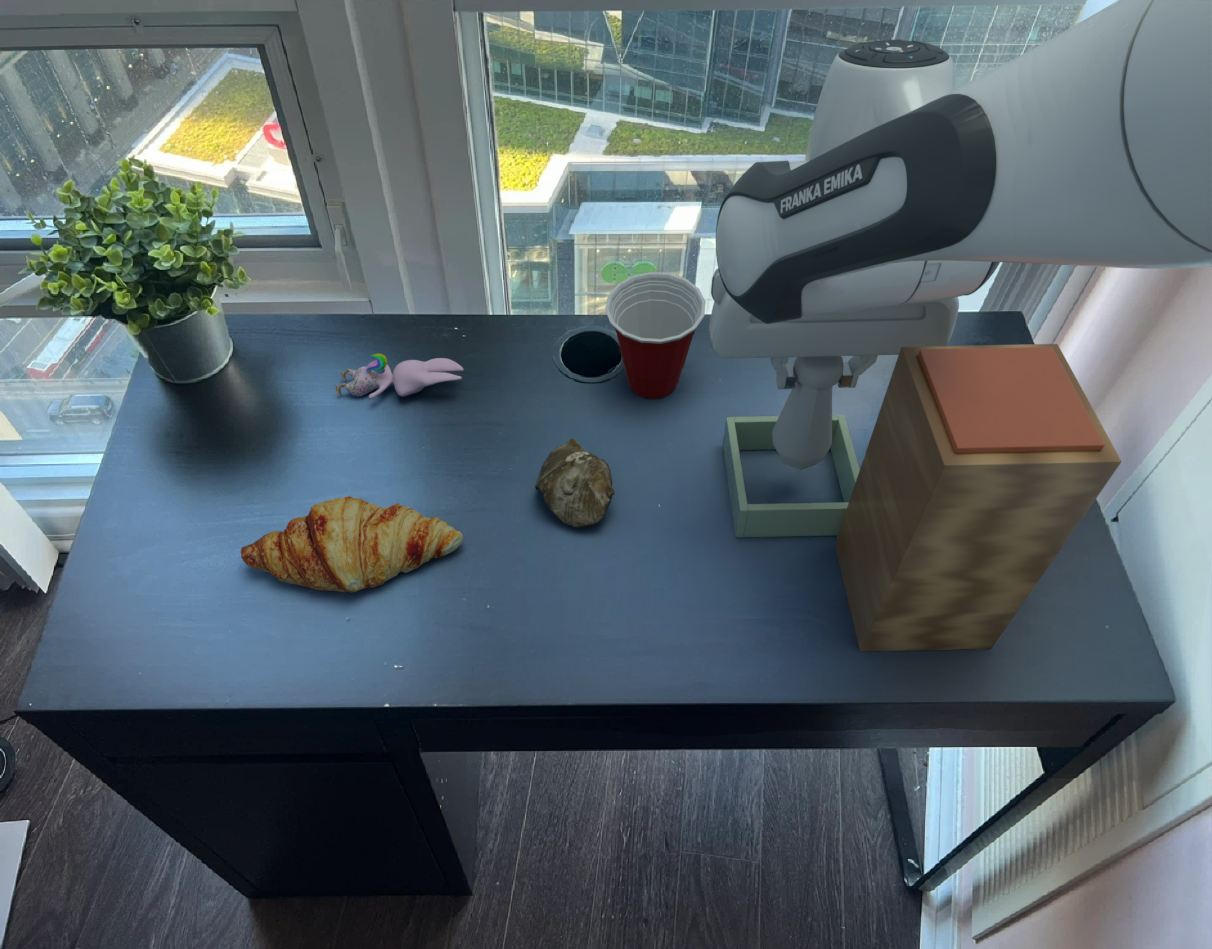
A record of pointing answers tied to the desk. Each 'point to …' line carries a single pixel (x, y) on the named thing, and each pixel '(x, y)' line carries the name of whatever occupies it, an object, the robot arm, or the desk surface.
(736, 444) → the holder
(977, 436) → the coaster
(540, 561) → the desk surface
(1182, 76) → the robot arm
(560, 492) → the fossilized seashell
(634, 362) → the plastic cup
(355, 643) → the desk surface
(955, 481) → the block
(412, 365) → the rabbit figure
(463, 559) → the desk surface
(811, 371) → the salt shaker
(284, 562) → the croissant
